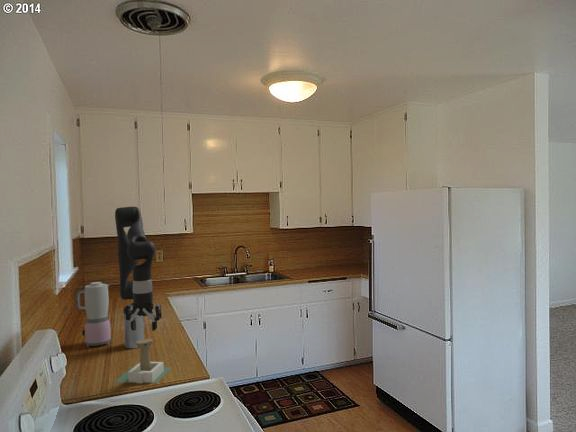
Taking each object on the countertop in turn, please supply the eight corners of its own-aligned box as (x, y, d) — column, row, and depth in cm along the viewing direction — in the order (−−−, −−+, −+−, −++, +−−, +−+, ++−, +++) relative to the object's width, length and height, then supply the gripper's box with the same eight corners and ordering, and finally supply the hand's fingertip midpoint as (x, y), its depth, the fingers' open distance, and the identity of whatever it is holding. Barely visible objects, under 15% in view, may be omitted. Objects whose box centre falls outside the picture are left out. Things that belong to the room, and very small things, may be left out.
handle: (154, 377, 170) (153, 341, 169) (138, 381, 167) (137, 344, 166) (152, 373, 174) (151, 338, 173) (136, 376, 171) (135, 340, 171)
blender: (112, 338, 225) (109, 279, 224) (111, 345, 213) (108, 283, 213) (79, 342, 219) (77, 282, 218) (76, 350, 208) (74, 286, 207)
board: (133, 368, 182) (133, 366, 182) (172, 369, 180) (172, 366, 180) (113, 384, 167) (113, 381, 167) (156, 385, 165) (156, 382, 164)
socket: (141, 370, 177) (141, 361, 177) (163, 371, 176) (163, 362, 176) (127, 382, 165) (126, 373, 165) (151, 383, 164) (151, 373, 164)
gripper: (163, 288, 172) (164, 327, 173) (130, 288, 174) (131, 327, 174) (155, 292, 165) (156, 333, 165) (121, 292, 166) (122, 333, 167)
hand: (144, 330), depth 170 cm, fingers open, 8 cm apart
